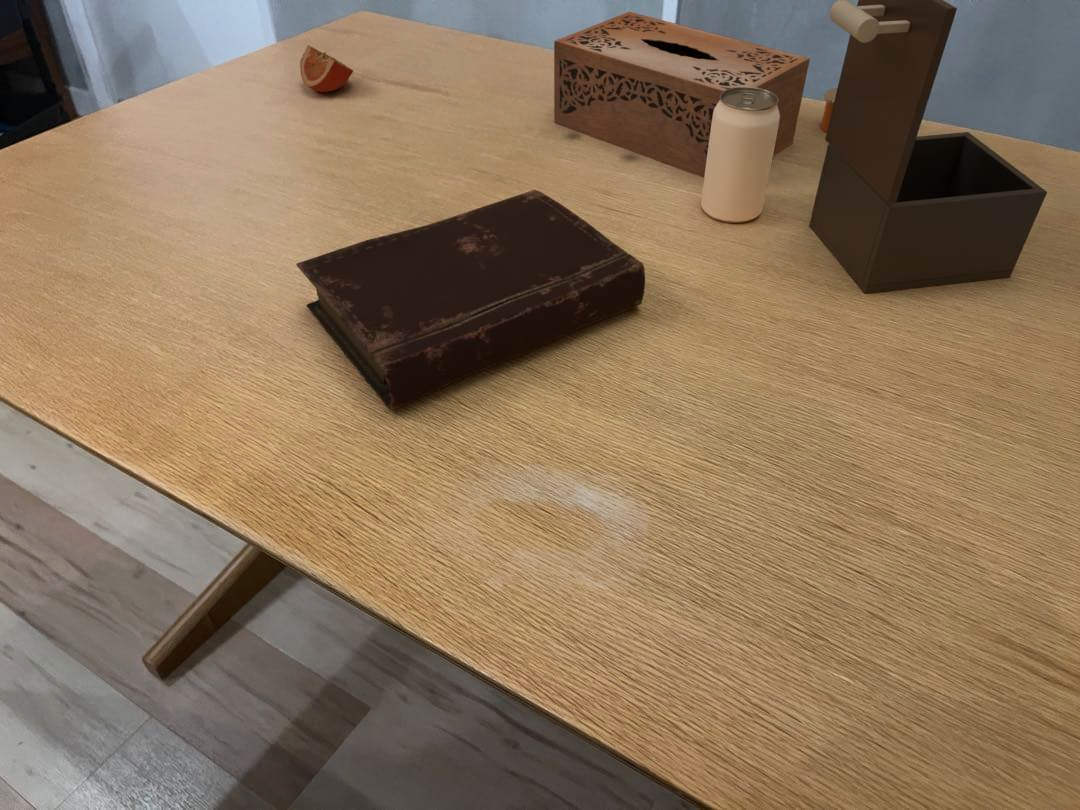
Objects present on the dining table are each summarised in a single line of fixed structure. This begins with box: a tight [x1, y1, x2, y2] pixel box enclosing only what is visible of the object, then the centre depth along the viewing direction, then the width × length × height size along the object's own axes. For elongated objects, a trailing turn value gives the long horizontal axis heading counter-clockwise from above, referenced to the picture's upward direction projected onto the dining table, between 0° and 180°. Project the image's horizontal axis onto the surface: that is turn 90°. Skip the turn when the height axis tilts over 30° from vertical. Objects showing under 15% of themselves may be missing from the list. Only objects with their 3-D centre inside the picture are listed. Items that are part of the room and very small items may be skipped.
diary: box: [295, 189, 646, 411], centre depth 73 cm, size 19×25×5 cm
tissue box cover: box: [553, 11, 811, 178], centre depth 98 cm, size 26×14×10 cm, turn 47°
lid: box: [825, 0, 958, 203], centre depth 68 cm, size 15×13×5 cm
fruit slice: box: [299, 45, 354, 93], centre depth 112 cm, size 8×7×5 cm
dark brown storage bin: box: [808, 131, 1048, 294], centre depth 78 cm, size 15×13×9 cm
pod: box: [820, 87, 838, 133], centre depth 101 cm, size 5×5×4 cm
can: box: [700, 87, 780, 224], centre depth 83 cm, size 6×6×12 cm
